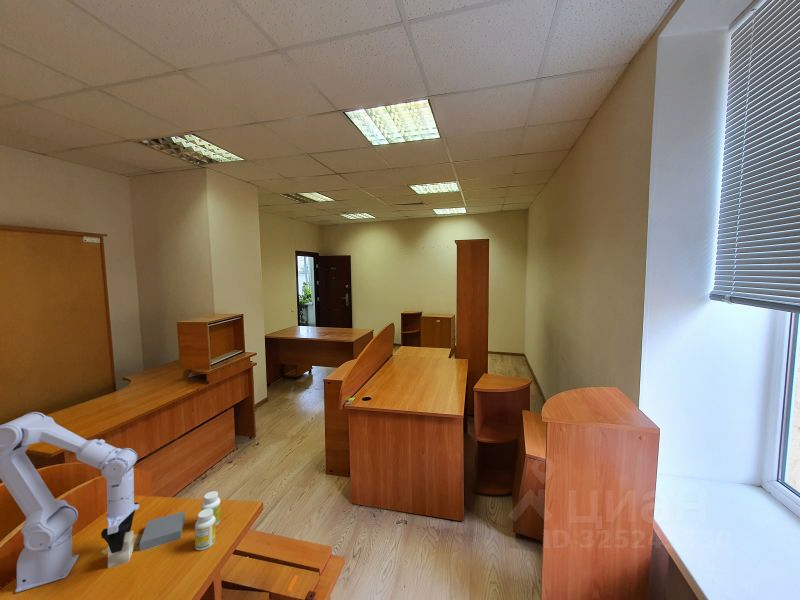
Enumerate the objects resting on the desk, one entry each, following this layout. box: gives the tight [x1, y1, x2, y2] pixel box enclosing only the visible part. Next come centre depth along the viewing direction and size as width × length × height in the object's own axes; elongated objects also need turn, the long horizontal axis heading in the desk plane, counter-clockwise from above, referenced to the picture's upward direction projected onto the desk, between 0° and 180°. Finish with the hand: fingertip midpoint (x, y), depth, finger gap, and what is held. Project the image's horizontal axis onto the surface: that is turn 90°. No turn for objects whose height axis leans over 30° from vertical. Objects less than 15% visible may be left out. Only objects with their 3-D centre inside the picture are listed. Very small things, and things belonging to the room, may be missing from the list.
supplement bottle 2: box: [194, 508, 217, 551], centre depth 94 cm, size 5×5×10 cm
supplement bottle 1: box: [201, 490, 221, 526], centre depth 103 cm, size 5×5×10 cm
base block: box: [139, 510, 186, 552], centre depth 98 cm, size 10×10×3 cm
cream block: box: [107, 530, 134, 569], centre depth 89 cm, size 4×4×6 cm
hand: (121, 541), depth 89 cm, fingers open, 7 cm apart
